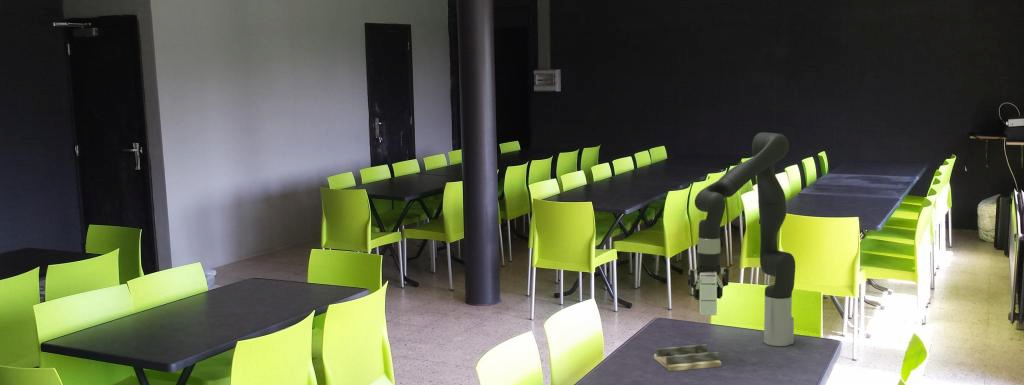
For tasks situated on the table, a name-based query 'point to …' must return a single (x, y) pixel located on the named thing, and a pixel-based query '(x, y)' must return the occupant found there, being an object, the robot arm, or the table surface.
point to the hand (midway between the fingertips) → (707, 298)
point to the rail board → (687, 357)
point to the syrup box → (708, 293)
